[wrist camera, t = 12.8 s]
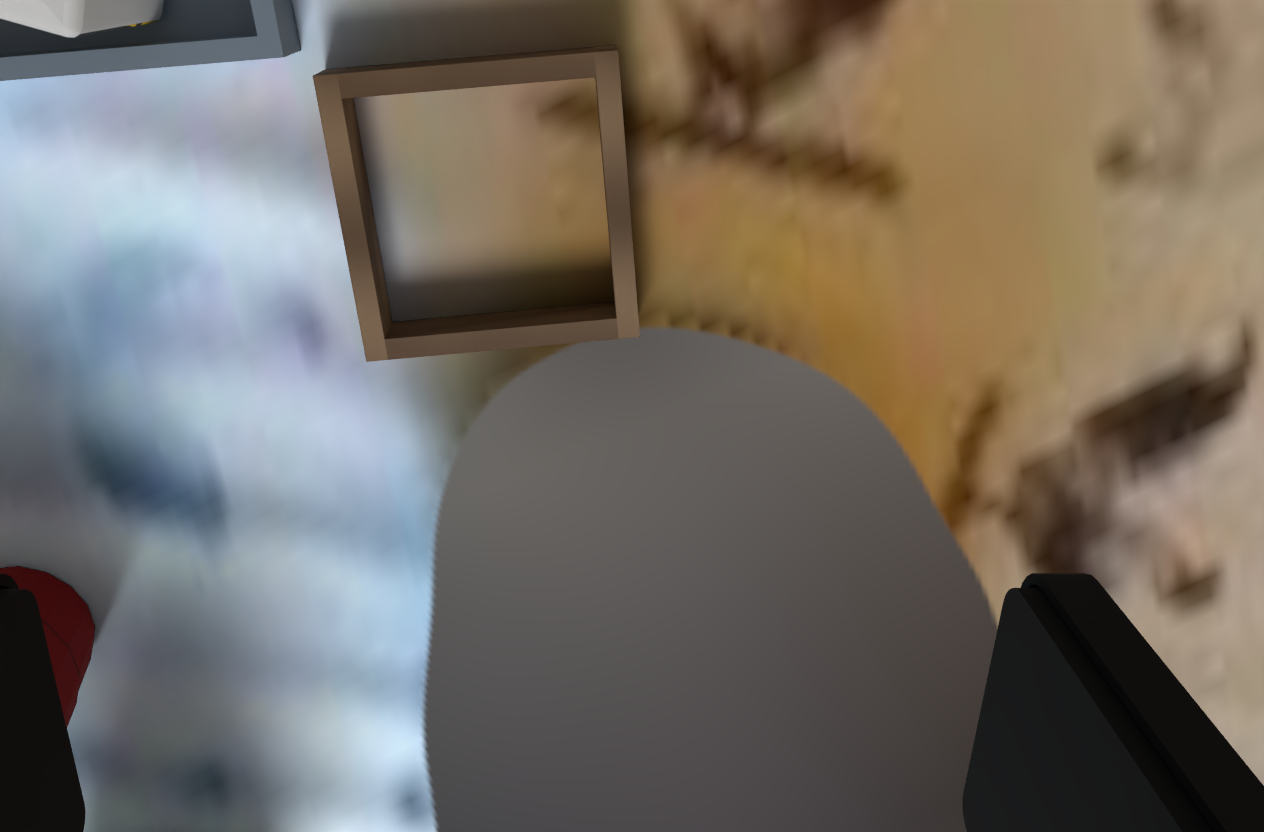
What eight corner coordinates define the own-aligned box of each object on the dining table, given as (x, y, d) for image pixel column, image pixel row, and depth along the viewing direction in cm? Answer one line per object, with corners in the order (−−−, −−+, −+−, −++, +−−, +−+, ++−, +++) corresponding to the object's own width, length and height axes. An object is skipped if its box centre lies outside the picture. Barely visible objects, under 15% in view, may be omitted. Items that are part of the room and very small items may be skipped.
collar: (325, 69, 37) (312, 76, 36) (615, 45, 38) (618, 50, 36) (375, 343, 42) (366, 361, 40) (636, 319, 42) (639, 337, 40)
